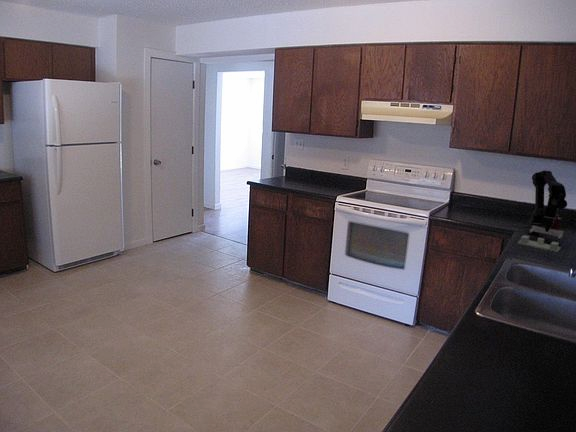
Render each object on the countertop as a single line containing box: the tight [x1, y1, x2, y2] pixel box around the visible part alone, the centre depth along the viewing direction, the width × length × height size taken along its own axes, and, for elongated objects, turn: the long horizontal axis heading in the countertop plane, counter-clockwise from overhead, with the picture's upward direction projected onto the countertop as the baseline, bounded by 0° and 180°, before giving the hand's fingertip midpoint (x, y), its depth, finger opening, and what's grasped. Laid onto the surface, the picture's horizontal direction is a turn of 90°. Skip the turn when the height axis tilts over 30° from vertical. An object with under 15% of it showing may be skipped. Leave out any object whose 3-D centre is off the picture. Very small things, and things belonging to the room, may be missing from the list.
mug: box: [550, 216, 562, 230], centre depth 299 cm, size 10×8×10 cm
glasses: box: [529, 225, 564, 239], centre depth 272 cm, size 9×16×3 cm, turn 52°
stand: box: [517, 234, 562, 253], centre depth 261 cm, size 11×20×4 cm, turn 52°
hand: (546, 231), depth 274 cm, fingers closed on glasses, 2 cm apart
